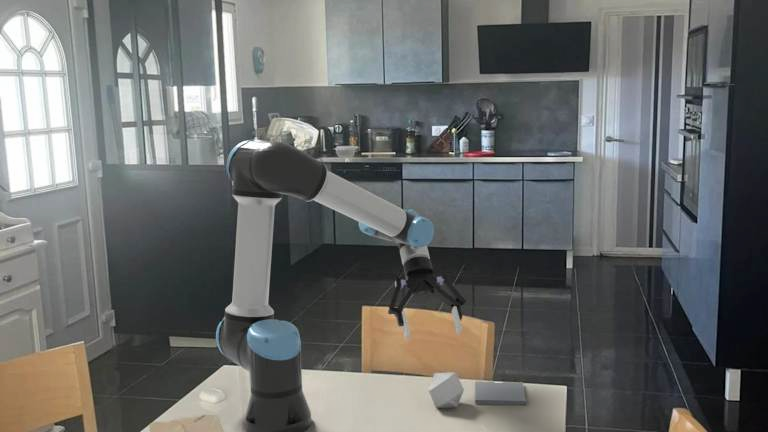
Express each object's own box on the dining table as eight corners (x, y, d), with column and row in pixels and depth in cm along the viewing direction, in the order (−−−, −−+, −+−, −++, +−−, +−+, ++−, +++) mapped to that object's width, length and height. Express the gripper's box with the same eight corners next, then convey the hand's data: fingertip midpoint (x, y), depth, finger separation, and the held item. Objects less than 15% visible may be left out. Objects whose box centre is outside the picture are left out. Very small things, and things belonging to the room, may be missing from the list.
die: (453, 418, 182) (473, 381, 184) (421, 399, 183) (441, 362, 184) (450, 416, 190) (469, 381, 192) (419, 398, 191) (438, 363, 192)
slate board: (475, 403, 188) (475, 399, 188) (475, 385, 200) (475, 381, 200) (525, 404, 187) (525, 400, 186) (522, 385, 198) (522, 382, 198)
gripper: (372, 258, 201) (387, 331, 189) (464, 251, 207) (484, 322, 195) (368, 273, 207) (383, 345, 195) (458, 266, 213) (477, 336, 201)
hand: (433, 334), depth 195 cm, fingers open, 13 cm apart
